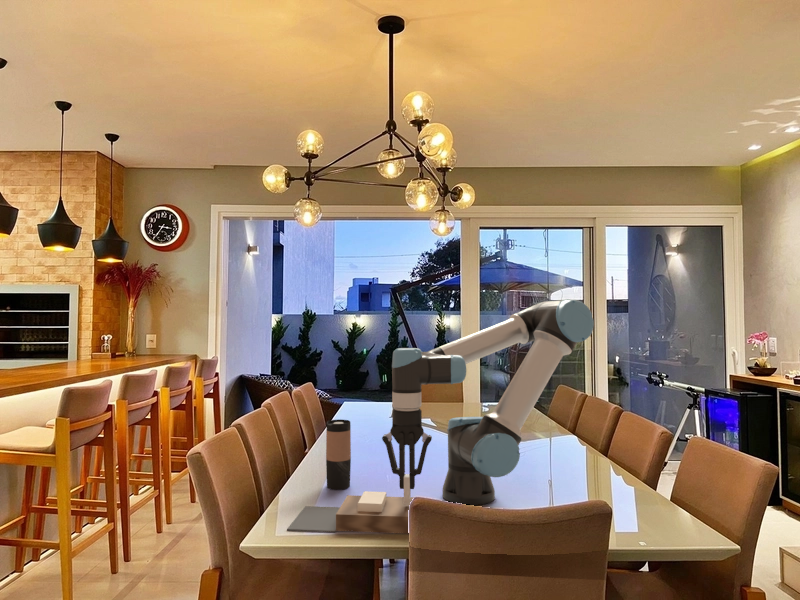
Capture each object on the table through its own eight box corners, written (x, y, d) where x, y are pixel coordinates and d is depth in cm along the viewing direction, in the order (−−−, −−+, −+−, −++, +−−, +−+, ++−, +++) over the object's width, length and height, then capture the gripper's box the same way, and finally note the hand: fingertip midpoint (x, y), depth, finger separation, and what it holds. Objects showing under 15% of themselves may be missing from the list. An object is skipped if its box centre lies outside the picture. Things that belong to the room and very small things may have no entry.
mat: (348, 509, 141) (348, 507, 141) (334, 532, 125) (334, 530, 125) (305, 507, 143) (305, 506, 143) (286, 530, 127) (286, 529, 127)
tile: (386, 499, 137) (386, 492, 137) (381, 512, 128) (381, 503, 128) (364, 499, 138) (364, 491, 138) (357, 511, 129) (357, 503, 129)
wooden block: (421, 512, 138) (420, 497, 138) (417, 534, 124) (417, 517, 125) (347, 510, 140) (347, 495, 141) (335, 530, 126) (335, 514, 127)
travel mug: (351, 482, 165) (351, 419, 166) (350, 490, 157) (350, 423, 158) (327, 482, 165) (327, 419, 166) (324, 490, 157) (324, 424, 158)
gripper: (432, 406, 136) (433, 497, 135) (383, 405, 137) (383, 495, 136) (431, 411, 129) (432, 507, 127) (379, 410, 130) (379, 505, 129)
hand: (407, 501), depth 132 cm, fingers closed
